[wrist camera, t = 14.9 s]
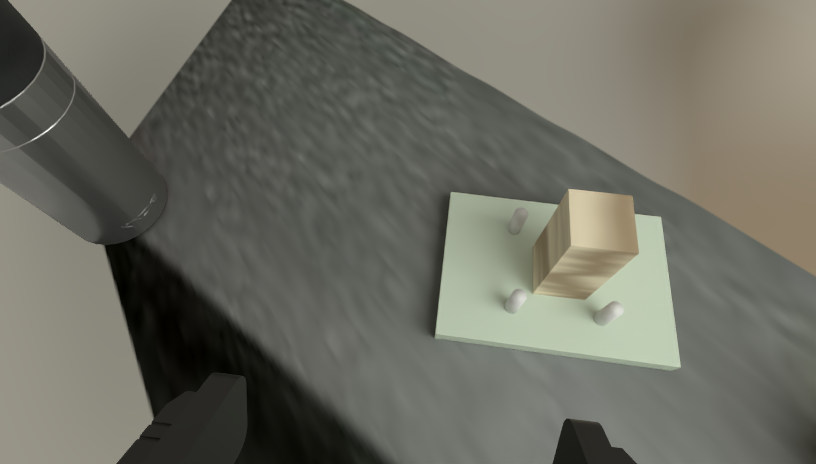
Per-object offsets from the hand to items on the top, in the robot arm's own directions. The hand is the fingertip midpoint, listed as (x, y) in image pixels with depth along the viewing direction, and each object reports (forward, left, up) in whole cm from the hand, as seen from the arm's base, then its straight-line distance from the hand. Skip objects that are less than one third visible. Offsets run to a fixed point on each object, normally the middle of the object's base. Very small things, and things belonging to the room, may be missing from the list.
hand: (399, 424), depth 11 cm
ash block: (+5, +19, -25) cm, 32 cm away
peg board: (+5, +19, -27) cm, 33 cm away
